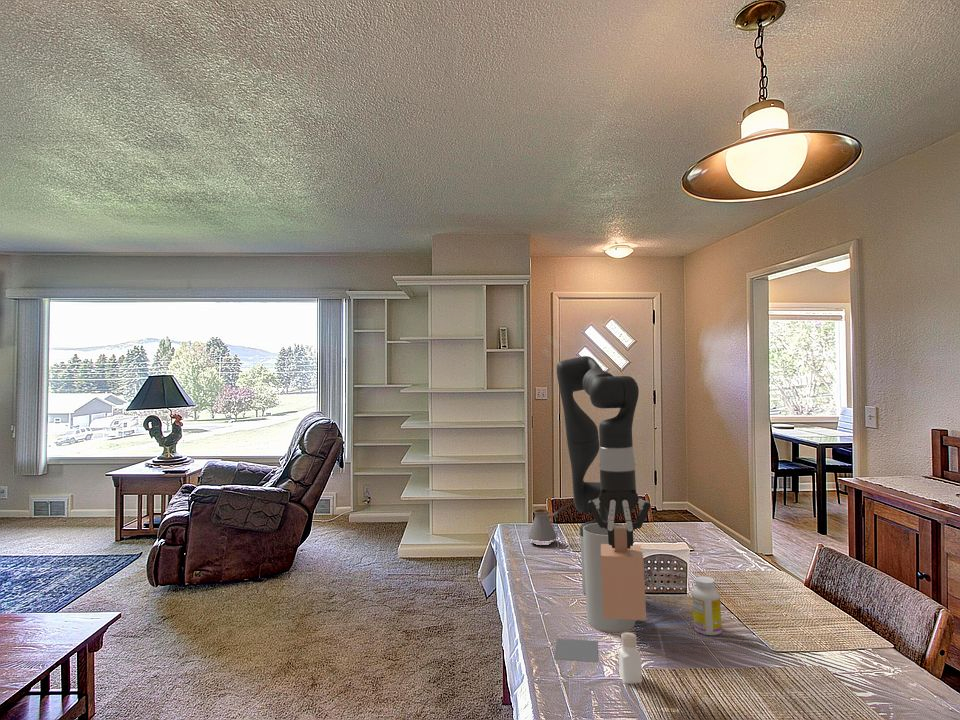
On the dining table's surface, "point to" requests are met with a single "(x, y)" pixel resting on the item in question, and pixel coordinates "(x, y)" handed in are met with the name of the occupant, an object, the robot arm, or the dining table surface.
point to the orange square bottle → (623, 579)
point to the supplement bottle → (706, 607)
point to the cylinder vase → (598, 581)
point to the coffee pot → (544, 525)
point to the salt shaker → (629, 659)
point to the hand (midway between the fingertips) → (620, 547)
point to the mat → (576, 650)
